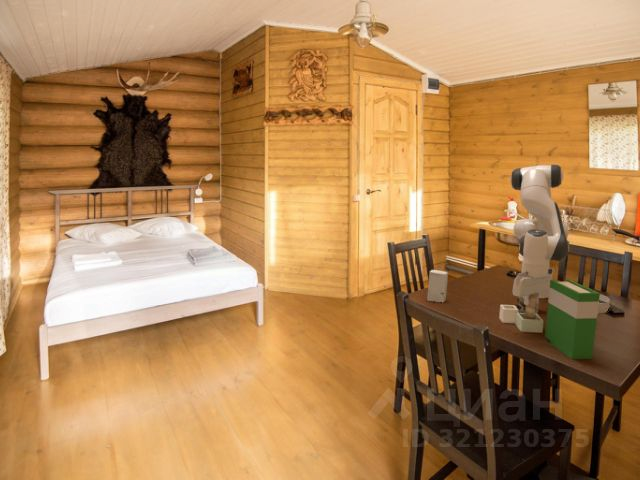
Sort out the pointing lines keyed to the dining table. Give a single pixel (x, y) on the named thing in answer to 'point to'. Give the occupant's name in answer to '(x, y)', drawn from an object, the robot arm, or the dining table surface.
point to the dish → (603, 304)
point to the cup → (508, 313)
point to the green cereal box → (572, 318)
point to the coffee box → (522, 306)
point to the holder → (529, 323)
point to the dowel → (531, 307)
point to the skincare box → (437, 286)
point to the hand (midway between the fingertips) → (530, 303)
